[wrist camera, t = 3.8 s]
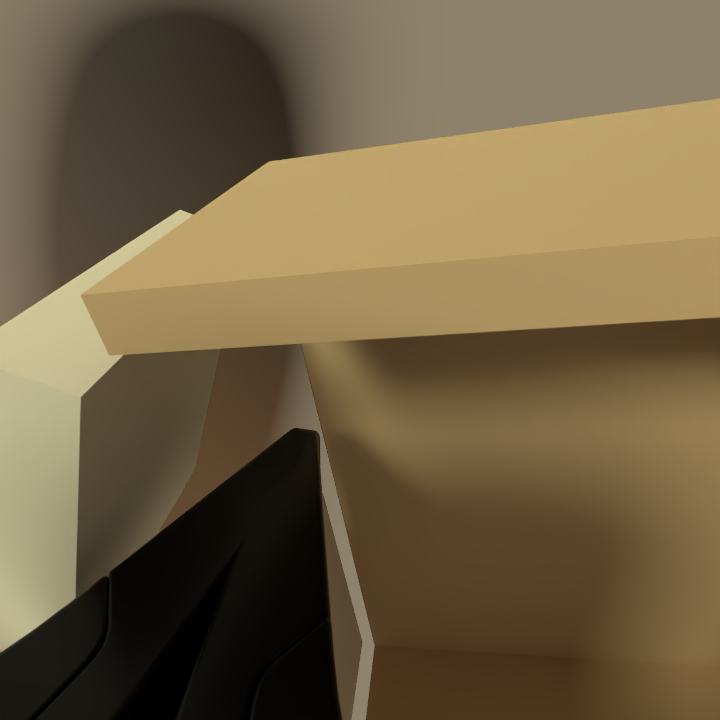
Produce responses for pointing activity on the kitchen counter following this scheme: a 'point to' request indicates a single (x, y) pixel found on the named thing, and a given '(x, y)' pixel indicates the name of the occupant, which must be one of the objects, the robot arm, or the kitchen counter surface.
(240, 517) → the robot arm
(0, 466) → the flap
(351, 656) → the flap
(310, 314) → the carton
